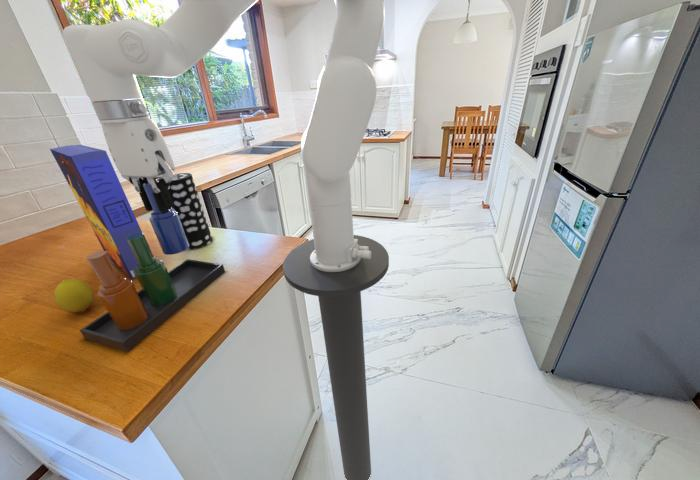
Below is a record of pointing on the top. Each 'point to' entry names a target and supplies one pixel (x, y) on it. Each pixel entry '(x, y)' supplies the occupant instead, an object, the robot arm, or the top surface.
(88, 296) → the lemon
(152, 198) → the blue bottle
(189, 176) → the spotted tube
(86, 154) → the cereal box
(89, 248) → the top surface
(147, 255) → the green bottle
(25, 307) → the top surface
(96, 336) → the tray
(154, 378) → the top surface
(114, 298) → the amber bottle
